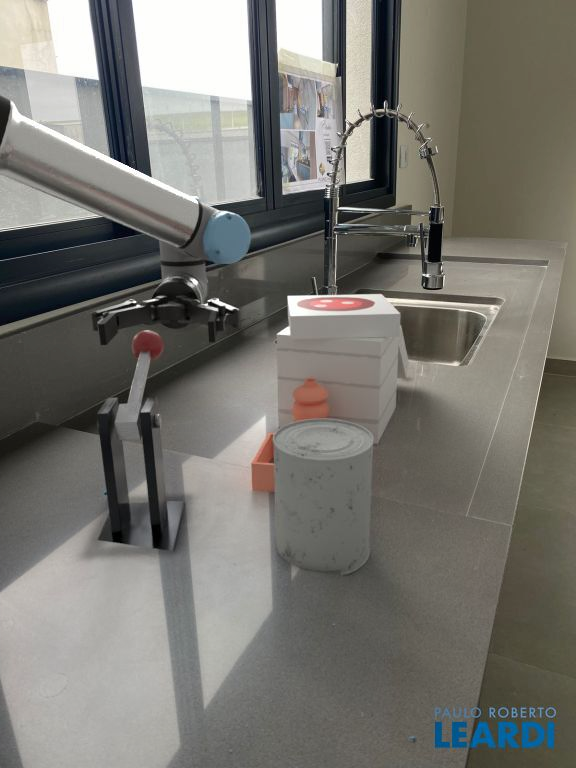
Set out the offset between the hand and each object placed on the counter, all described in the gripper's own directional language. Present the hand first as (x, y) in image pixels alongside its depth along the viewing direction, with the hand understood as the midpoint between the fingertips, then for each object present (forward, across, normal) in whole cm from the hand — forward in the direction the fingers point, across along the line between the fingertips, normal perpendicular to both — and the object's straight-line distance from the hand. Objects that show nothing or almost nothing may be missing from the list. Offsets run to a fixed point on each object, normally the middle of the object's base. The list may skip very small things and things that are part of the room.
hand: (157, 333), depth 76 cm
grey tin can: (+22, -19, -18) cm, 34 cm away
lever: (+12, 0, -4) cm, 12 cm away
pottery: (+4, -18, -18) cm, 26 cm away
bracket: (+19, 0, -17) cm, 25 cm away
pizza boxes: (-17, -27, -18) cm, 36 cm away
